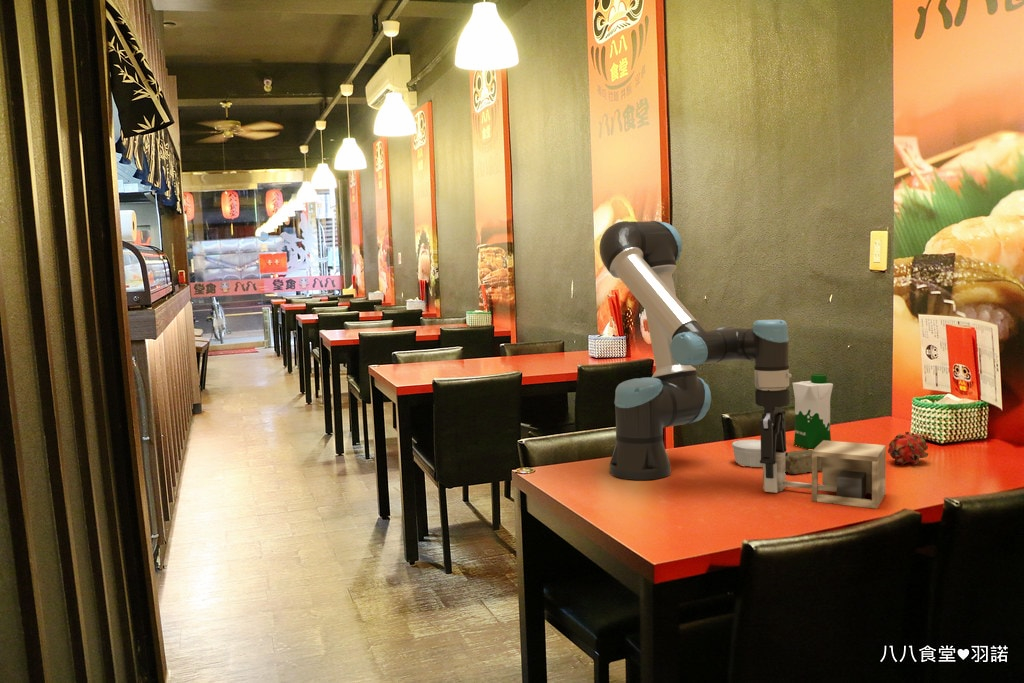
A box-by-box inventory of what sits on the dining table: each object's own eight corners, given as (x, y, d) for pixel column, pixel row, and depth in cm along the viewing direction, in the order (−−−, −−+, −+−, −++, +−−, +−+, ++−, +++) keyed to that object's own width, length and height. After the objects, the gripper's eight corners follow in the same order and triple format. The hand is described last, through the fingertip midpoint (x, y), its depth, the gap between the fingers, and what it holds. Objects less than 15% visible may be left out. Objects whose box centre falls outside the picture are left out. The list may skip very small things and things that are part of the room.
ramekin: (787, 465, 207) (787, 445, 207) (751, 471, 203) (750, 450, 203) (758, 457, 218) (758, 437, 217) (723, 461, 213) (723, 442, 213)
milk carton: (836, 448, 224) (836, 376, 222) (808, 451, 221) (808, 378, 219) (815, 442, 232) (815, 372, 230) (788, 445, 229) (788, 375, 228)
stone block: (829, 471, 201) (829, 451, 200) (790, 477, 197) (790, 456, 197) (814, 466, 206) (814, 447, 206) (775, 471, 203) (775, 451, 202)
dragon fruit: (924, 466, 208) (897, 480, 202) (898, 442, 213) (870, 456, 207) (942, 443, 203) (915, 458, 197) (914, 420, 208) (887, 433, 202)
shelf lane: (811, 501, 176) (811, 451, 175) (823, 487, 186) (823, 440, 185) (877, 508, 169) (877, 456, 168) (885, 494, 179) (885, 445, 178)
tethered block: (762, 490, 185) (761, 455, 184) (769, 484, 190) (768, 450, 189) (861, 502, 174) (861, 465, 173) (865, 494, 179) (866, 459, 178)
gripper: (778, 394, 174) (781, 500, 176) (798, 382, 190) (801, 479, 192) (743, 393, 178) (746, 496, 180) (766, 381, 194) (768, 477, 196)
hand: (774, 487), depth 186 cm, fingers open, 6 cm apart
